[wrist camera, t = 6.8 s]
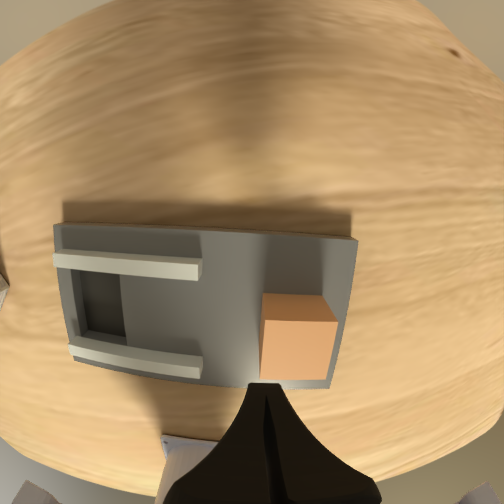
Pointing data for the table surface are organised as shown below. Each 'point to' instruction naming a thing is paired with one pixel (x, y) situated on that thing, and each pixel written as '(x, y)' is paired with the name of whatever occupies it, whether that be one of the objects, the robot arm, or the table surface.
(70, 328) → the channel
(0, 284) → the medicine box
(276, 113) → the table surface
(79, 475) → the table surface
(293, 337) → the block
